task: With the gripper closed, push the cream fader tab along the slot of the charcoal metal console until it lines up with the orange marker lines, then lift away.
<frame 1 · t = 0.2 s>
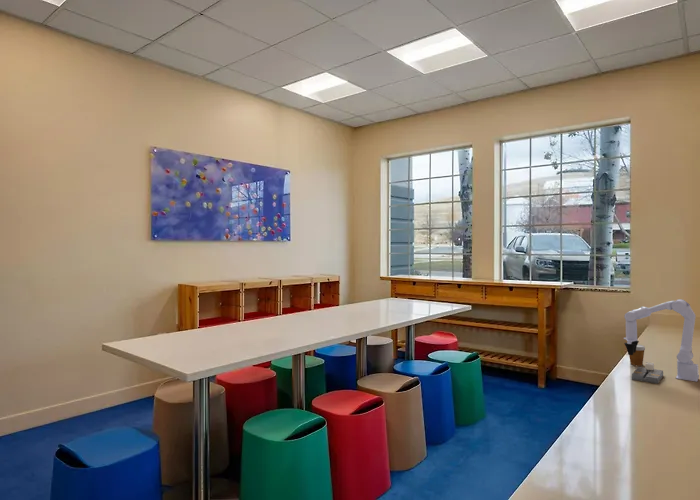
hand: (631, 353, 259), 10 cm above the table, tool pointing down, fingers open, 7 cm apart
fader console: (647, 377, 244), on the table
fader tab: (649, 367, 249), point 4 cm above the table, slide at 0.0 cm
disposable coffee cup: (636, 364, 271), on the table
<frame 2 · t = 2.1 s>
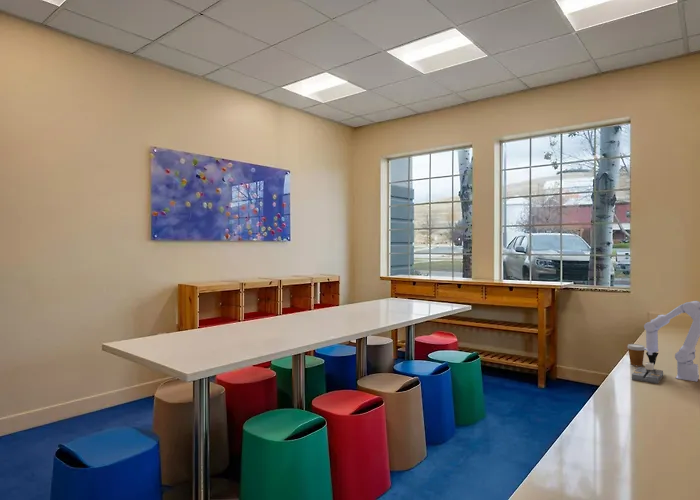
hand: (652, 364, 256), 4 cm above the table, tool pointing down, fingers closed
nothing on the table moved.
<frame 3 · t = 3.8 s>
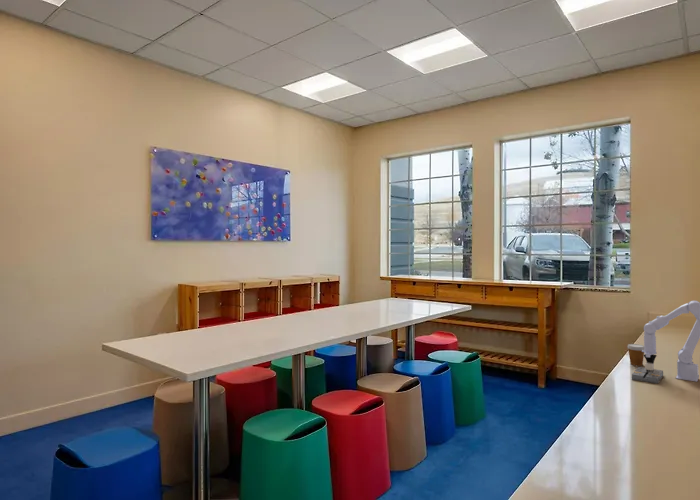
hand: (650, 367, 251), 4 cm above the table, tool pointing down, fingers closed
fader tab: (649, 367, 249), point 4 cm above the table, slide at 0.4 cm, touching gripper
everything else where it was.
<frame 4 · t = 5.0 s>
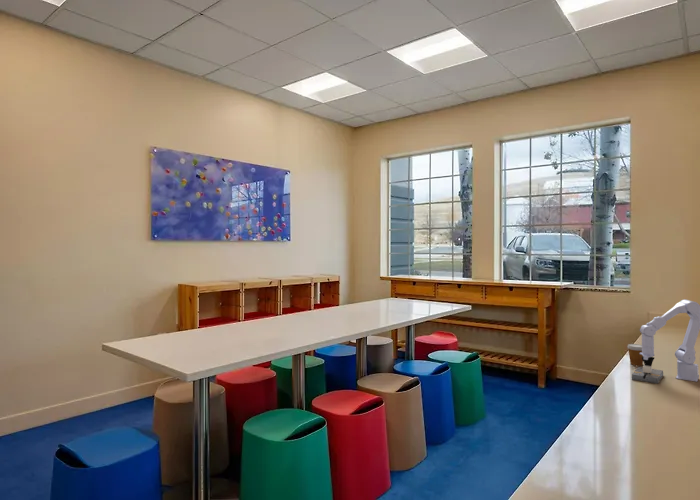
hand: (648, 369, 246), 4 cm above the table, tool pointing down, fingers closed
fader tab: (647, 370, 244), point 4 cm above the table, slide at 7.3 cm, touching gripper
everything else where it was.
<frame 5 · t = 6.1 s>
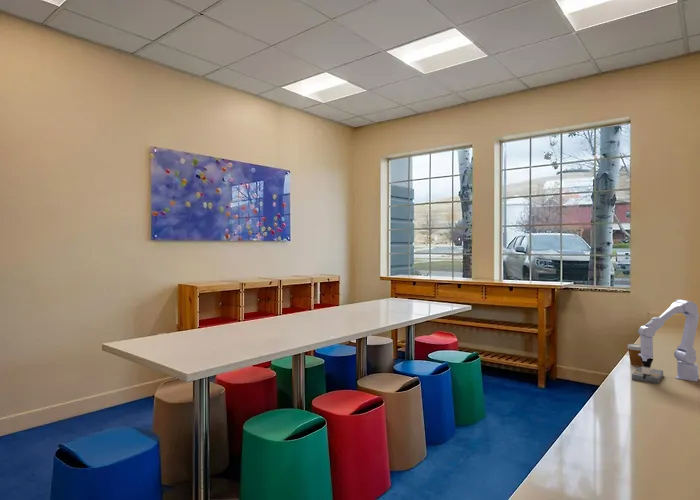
hand: (647, 371, 243), 4 cm above the table, tool pointing down, fingers closed
fader tab: (646, 371, 241), point 4 cm above the table, slide at 10.9 cm, touching gripper
everything else where it was.
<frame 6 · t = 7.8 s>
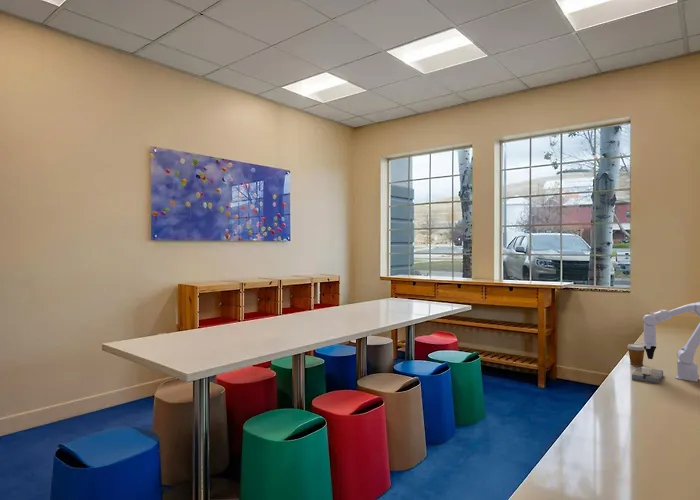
hand: (650, 358, 249), 9 cm above the table, tool pointing down, fingers closed
fader tab: (646, 371, 241), point 4 cm above the table, slide at 11.0 cm
everything else where it was.
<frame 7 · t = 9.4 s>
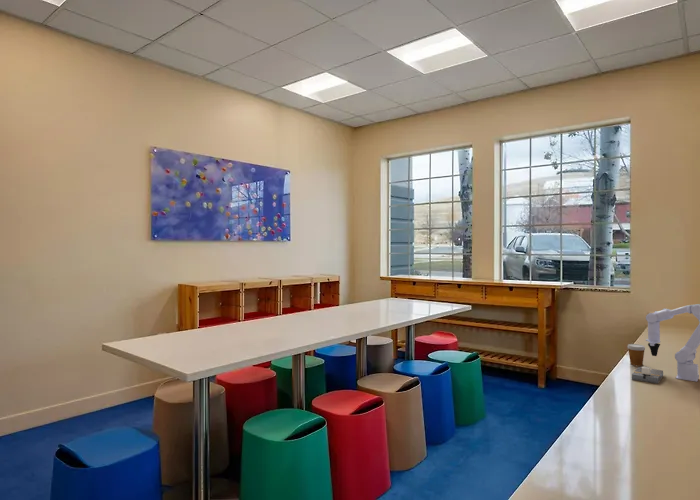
hand: (654, 355, 255), 9 cm above the table, tool pointing down, fingers closed
nothing on the table moved.
at the end: fader tab slide at 11.0 cm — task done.
